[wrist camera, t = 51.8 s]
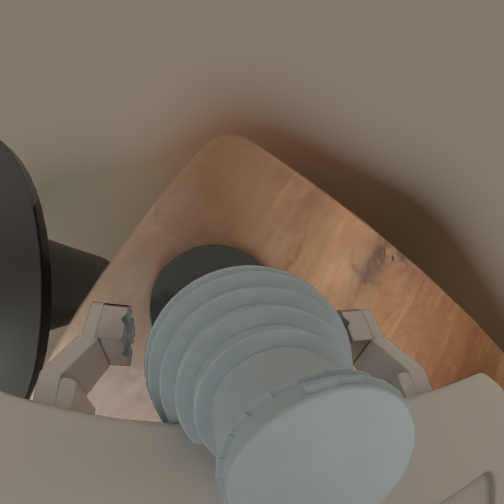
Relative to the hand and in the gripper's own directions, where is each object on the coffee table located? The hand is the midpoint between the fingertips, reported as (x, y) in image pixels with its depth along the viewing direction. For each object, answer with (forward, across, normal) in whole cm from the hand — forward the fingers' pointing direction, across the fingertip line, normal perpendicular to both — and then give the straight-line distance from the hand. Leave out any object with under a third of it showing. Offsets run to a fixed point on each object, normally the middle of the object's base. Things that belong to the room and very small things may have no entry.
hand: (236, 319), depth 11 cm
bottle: (+7, 0, +9) cm, 11 cm away
